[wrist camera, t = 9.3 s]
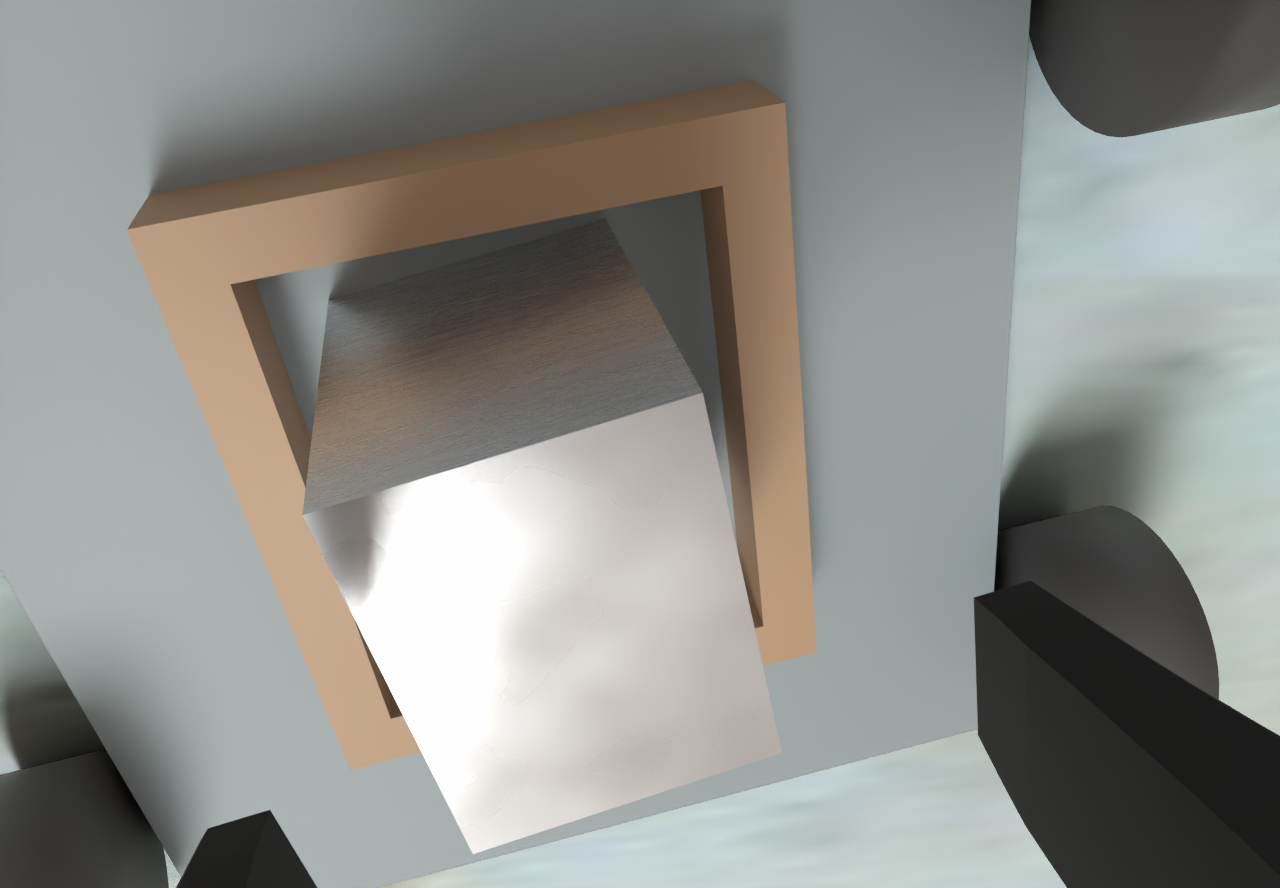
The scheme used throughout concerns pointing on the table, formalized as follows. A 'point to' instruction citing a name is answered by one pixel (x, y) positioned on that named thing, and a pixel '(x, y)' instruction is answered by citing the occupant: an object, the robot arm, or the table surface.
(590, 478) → the block
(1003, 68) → the chassis board
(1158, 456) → the table surface
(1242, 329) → the table surface
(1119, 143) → the table surface
